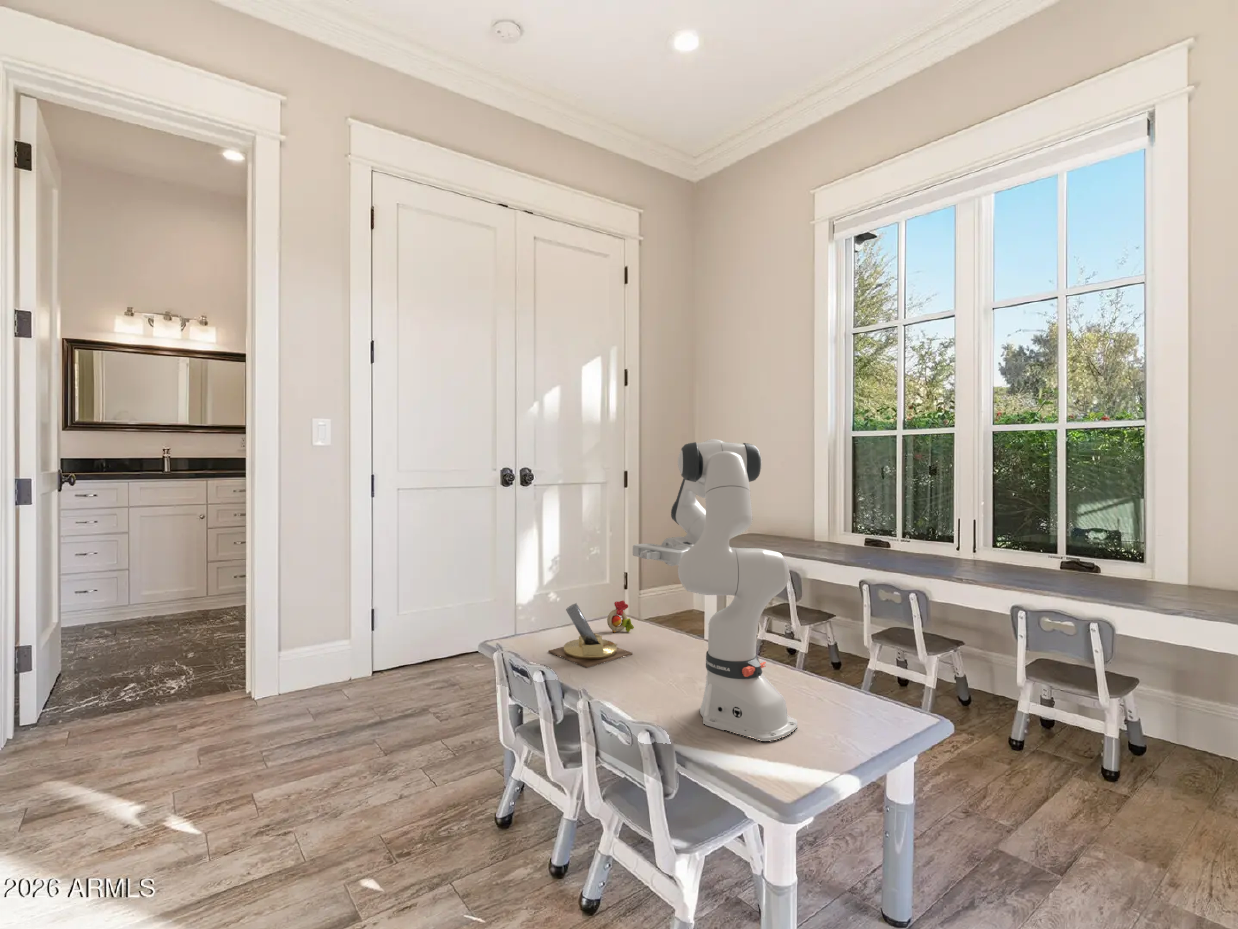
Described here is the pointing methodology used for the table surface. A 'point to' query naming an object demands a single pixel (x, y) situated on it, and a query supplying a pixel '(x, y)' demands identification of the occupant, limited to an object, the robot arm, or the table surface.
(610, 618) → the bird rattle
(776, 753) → the table surface
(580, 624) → the pin
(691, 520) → the robot arm
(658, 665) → the table surface
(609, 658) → the base plate
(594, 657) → the gold round base
